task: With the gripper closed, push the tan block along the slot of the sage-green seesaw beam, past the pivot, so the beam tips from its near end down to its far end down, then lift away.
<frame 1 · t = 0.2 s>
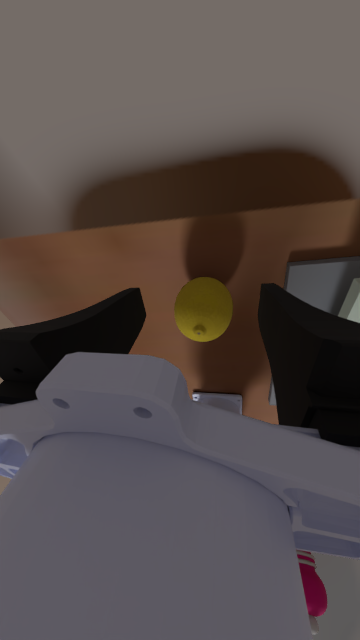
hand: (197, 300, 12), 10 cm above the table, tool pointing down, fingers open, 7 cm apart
lemon: (206, 288, 23), on the table
pepper mill: (282, 471, 45), on the table
pivot stand: (349, 347, 23), on the table
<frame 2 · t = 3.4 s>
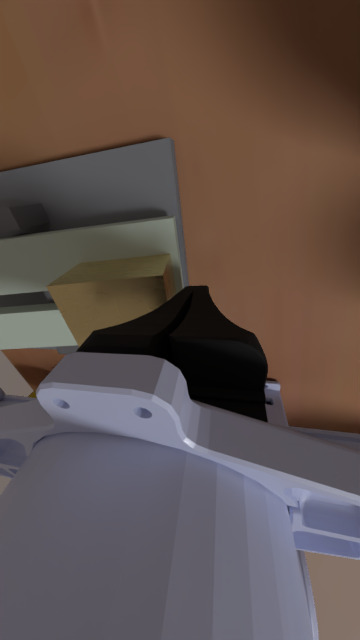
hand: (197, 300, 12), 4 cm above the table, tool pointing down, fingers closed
beam: (45, 294, 16), point 3 cm above the table, hinge at -6.8°, touching tan block
tan block: (133, 293, 14), point 3 cm above the table, tilted 7°, touching beam, gripper
pivot stand: (69, 279, 18), on the table
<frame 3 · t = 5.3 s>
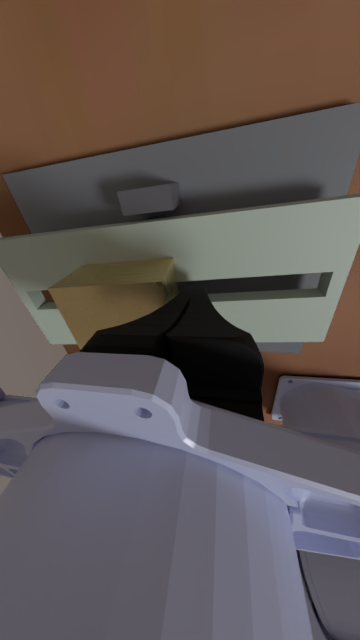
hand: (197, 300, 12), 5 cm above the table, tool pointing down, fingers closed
beam: (163, 286, 14), point 3 cm above the table, hinge at -3.2°, touching tan block
tan block: (136, 296, 14), point 4 cm above the table, touching beam, gripper
pivot stand: (172, 270, 17), on the table
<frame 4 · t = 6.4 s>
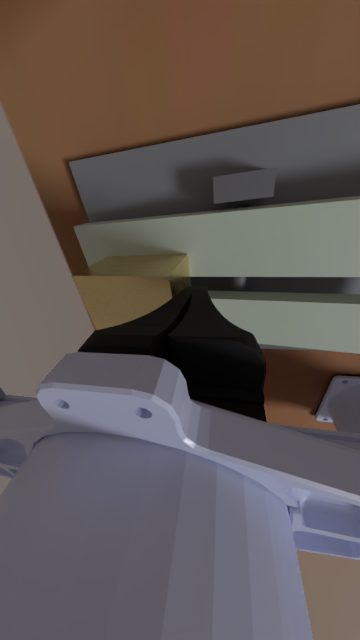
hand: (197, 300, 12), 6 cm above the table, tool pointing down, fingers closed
beam: (238, 281, 14), point 3 cm above the table, hinge at 6.7°, touching tan block
tan block: (152, 289, 15), point 3 cm above the table, tilted 7°, touching beam, gripper
pivot stand: (236, 265, 16), on the table
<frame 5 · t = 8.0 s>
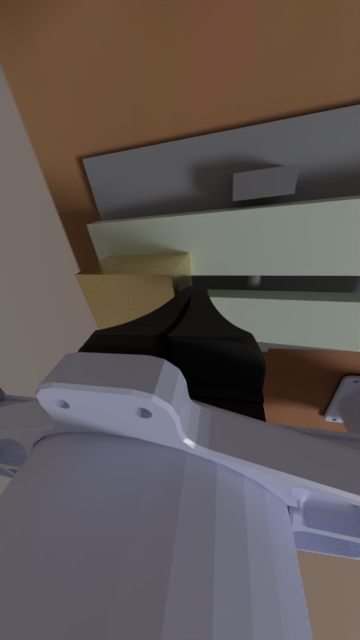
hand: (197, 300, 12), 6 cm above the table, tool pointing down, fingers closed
beam: (253, 279, 13), point 3 cm above the table, hinge at 6.8°, touching tan block
tan block: (153, 288, 15), point 3 cm above the table, tilted 7°, touching beam, gripper
pivot stand: (249, 264, 16), on the table
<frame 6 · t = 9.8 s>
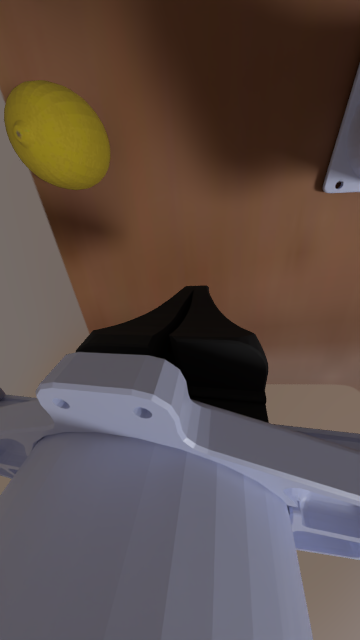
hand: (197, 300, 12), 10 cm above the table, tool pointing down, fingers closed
lemon: (96, 149, 17), on the table
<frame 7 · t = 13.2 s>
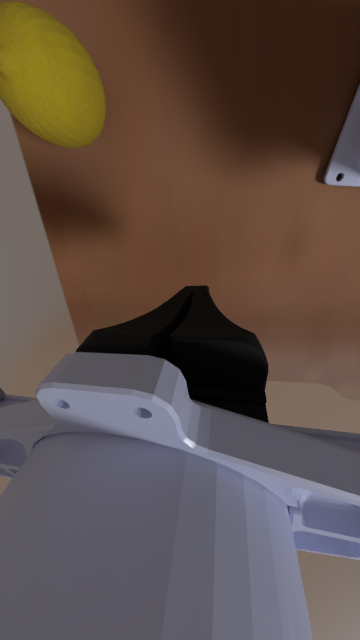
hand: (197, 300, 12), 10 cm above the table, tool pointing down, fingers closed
lemon: (91, 108, 16), on the table
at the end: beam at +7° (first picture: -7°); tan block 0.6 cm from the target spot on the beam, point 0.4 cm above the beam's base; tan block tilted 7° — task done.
